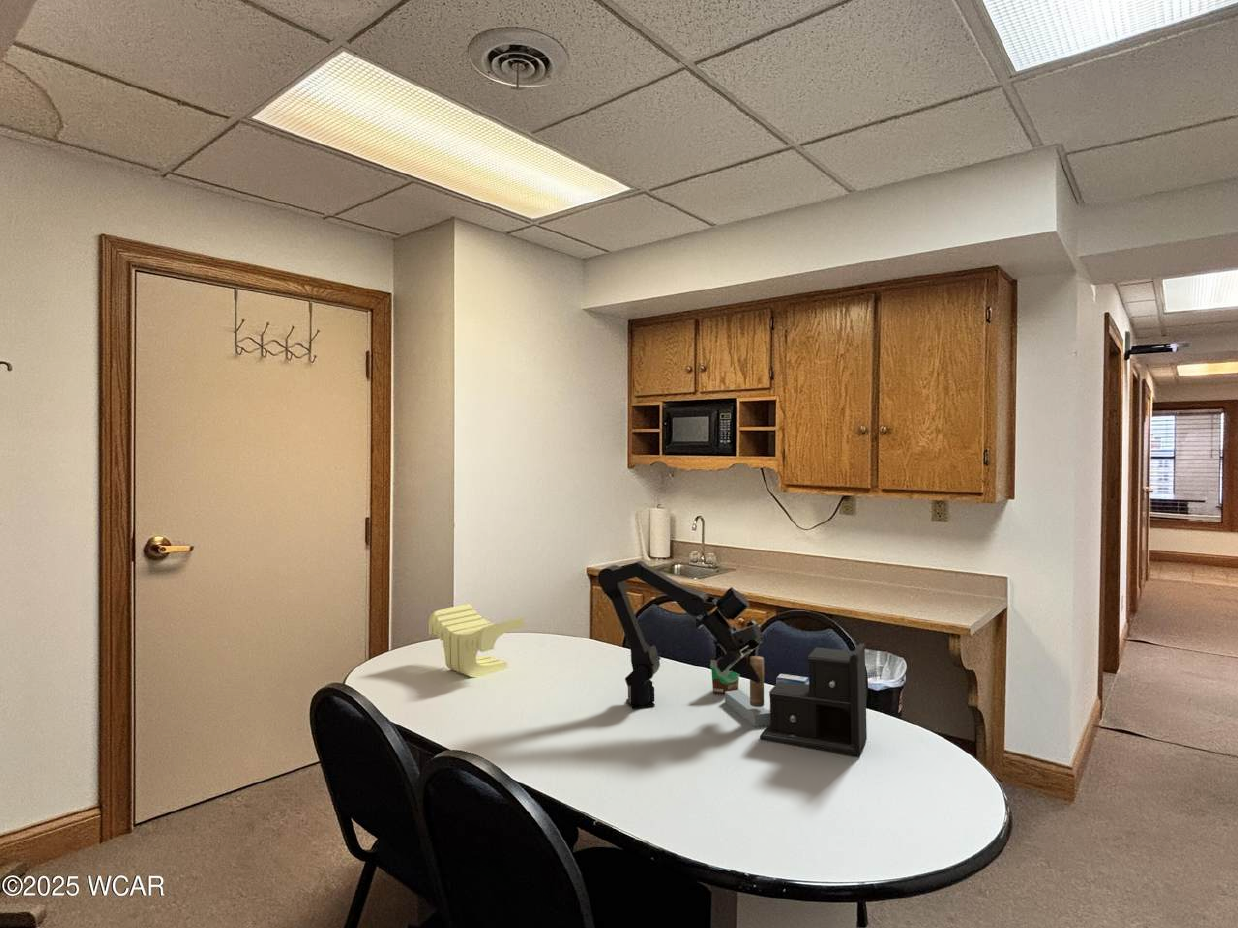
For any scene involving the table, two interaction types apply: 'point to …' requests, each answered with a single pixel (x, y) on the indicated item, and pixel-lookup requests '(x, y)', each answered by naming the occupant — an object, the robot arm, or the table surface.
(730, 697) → the ridge bar
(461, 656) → the slatted curved stool
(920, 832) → the table surface
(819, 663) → the black desk organizer
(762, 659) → the walnut dowel
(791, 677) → the medicine box
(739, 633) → the robot arm
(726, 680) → the food container
